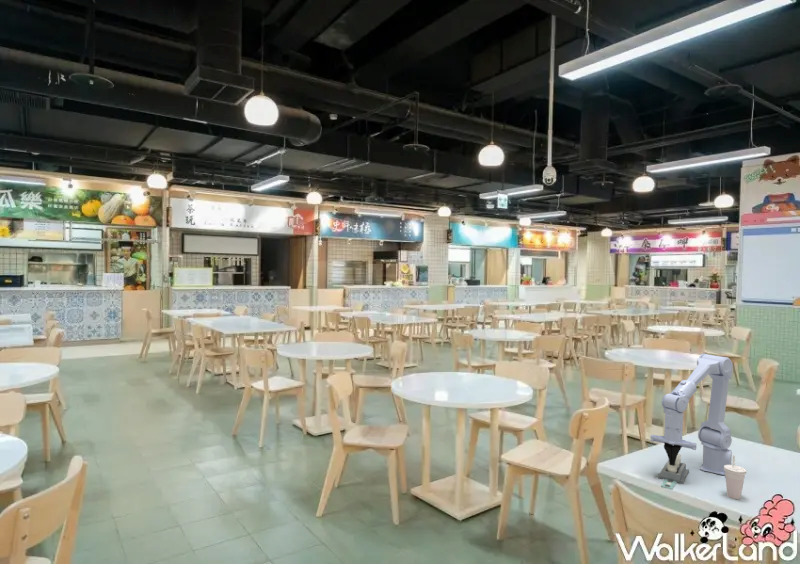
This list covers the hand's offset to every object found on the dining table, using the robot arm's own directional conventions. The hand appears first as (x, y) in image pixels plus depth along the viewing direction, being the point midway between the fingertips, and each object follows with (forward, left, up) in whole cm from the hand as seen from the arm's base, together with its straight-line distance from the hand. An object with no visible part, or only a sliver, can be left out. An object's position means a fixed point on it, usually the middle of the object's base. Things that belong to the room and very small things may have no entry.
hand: (672, 464), depth 182 cm
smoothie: (-19, +3, -5) cm, 20 cm away
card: (0, +6, -5) cm, 8 cm away
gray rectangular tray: (0, -4, -5) cm, 7 cm away
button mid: (0, -4, -3) cm, 5 cm away
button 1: (0, 0, -4) cm, 4 cm away
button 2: (0, -9, -3) cm, 9 cm away
